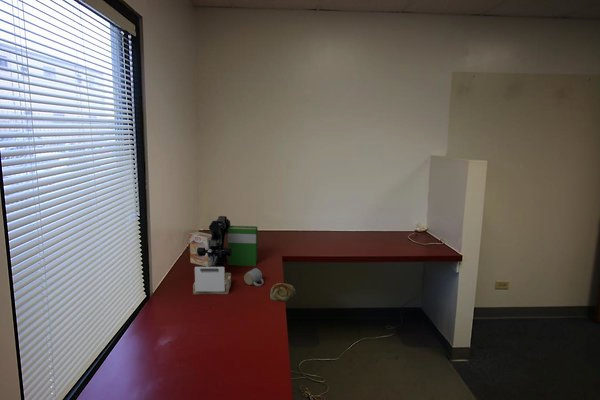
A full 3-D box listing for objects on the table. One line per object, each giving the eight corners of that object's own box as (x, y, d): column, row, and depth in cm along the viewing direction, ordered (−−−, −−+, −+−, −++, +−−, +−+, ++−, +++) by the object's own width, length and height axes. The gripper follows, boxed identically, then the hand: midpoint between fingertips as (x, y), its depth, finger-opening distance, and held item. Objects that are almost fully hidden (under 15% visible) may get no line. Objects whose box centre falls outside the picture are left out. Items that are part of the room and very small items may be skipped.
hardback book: (257, 261, 240) (257, 226, 235) (255, 265, 233) (256, 229, 228) (230, 260, 240) (230, 225, 235) (228, 265, 233) (227, 228, 228)
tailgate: (195, 290, 191) (195, 266, 188) (224, 290, 191) (224, 266, 189) (195, 291, 189) (194, 268, 186) (224, 291, 190) (223, 268, 187)
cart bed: (198, 283, 204) (198, 272, 203) (231, 283, 205) (230, 272, 204) (193, 294, 191) (192, 282, 190) (227, 294, 192) (227, 282, 191)
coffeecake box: (190, 262, 235) (189, 233, 231) (197, 259, 241) (197, 231, 238) (207, 267, 228) (207, 237, 225) (215, 263, 235) (214, 234, 231)
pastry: (272, 303, 184) (272, 288, 182) (267, 292, 195) (267, 278, 194) (299, 300, 188) (299, 285, 186) (292, 290, 199) (293, 276, 198)
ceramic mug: (242, 283, 206) (242, 271, 204) (252, 279, 212) (252, 266, 211) (257, 288, 200) (257, 275, 198) (266, 283, 207) (266, 271, 205)
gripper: (196, 233, 199) (192, 259, 191) (231, 233, 201) (228, 259, 192) (200, 242, 209) (196, 268, 200) (233, 243, 210) (230, 268, 201)
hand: (213, 266), depth 198 cm, fingers closed
